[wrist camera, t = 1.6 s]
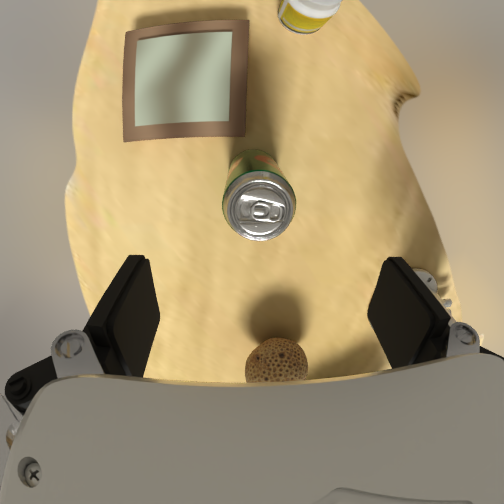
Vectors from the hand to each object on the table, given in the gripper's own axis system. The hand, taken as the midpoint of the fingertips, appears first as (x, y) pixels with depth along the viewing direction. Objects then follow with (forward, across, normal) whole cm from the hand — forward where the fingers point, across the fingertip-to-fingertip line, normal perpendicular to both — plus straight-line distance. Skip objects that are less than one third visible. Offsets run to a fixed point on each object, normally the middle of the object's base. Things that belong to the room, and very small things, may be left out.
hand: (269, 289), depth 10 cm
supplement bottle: (+20, -4, -18) cm, 28 cm away
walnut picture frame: (+20, +7, -10) cm, 24 cm away
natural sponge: (+20, -4, +25) cm, 33 cm away
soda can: (+20, 0, 0) cm, 20 cm away
